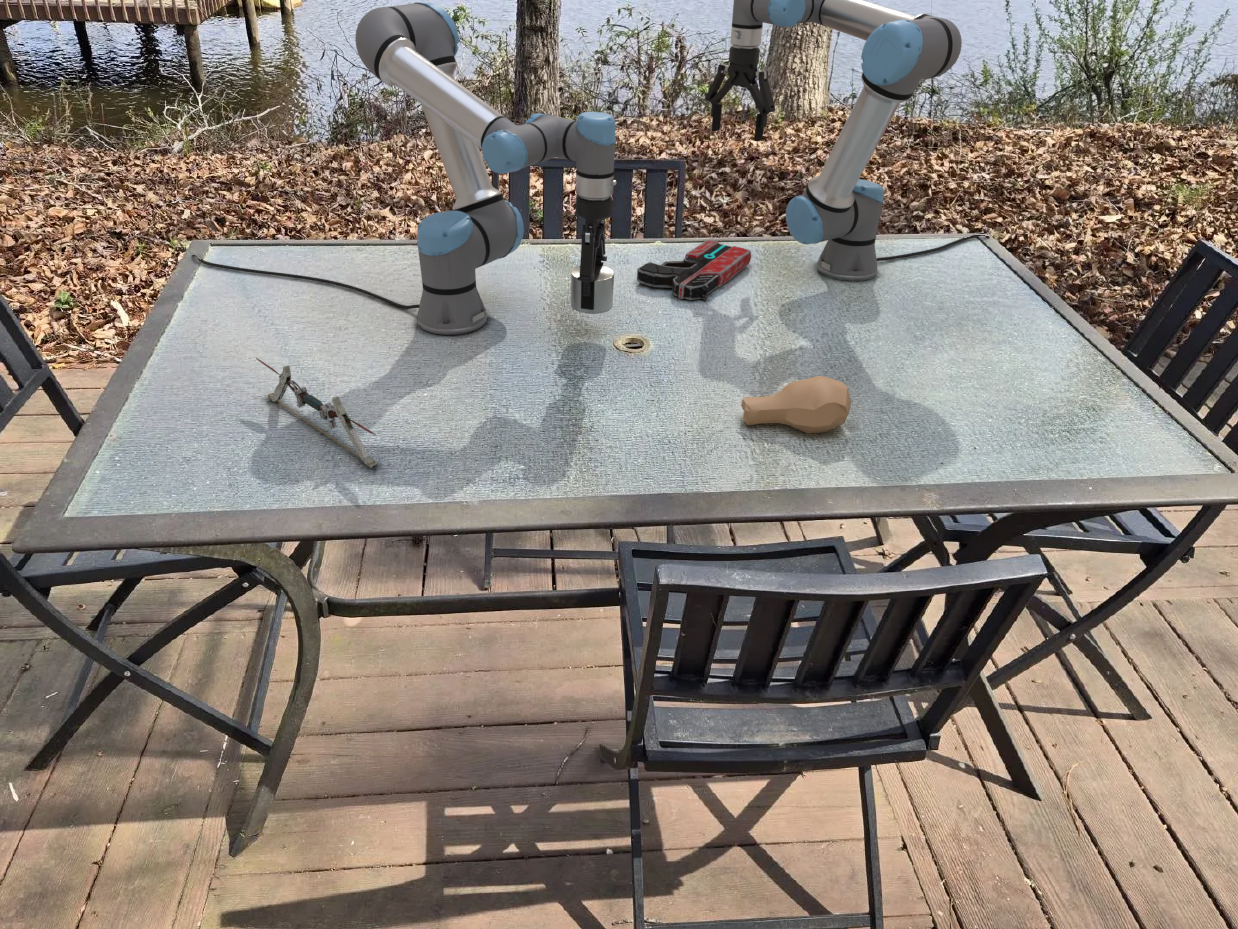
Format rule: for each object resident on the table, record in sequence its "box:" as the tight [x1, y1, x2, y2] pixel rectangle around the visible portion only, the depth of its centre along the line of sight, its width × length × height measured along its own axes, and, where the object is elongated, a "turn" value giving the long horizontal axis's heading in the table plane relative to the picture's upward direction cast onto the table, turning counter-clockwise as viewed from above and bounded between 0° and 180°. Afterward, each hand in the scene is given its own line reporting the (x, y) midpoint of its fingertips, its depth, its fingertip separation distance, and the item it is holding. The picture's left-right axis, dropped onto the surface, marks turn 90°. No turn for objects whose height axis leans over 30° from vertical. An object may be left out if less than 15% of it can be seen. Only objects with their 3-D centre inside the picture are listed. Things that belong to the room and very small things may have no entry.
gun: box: [636, 239, 752, 301], centre depth 222 cm, size 4×31×19 cm
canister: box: [570, 265, 615, 315], centre depth 188 cm, size 9×9×8 cm
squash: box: [740, 375, 852, 434], centre depth 161 cm, size 11×20×9 cm, turn 90°
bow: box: [255, 357, 378, 469], centre depth 154 cm, size 39×2×10 cm, turn 47°
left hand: (591, 299), depth 189 cm, fingers closed on canister, 9 cm apart
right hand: (736, 135), depth 229 cm, fingers open, 13 cm apart
